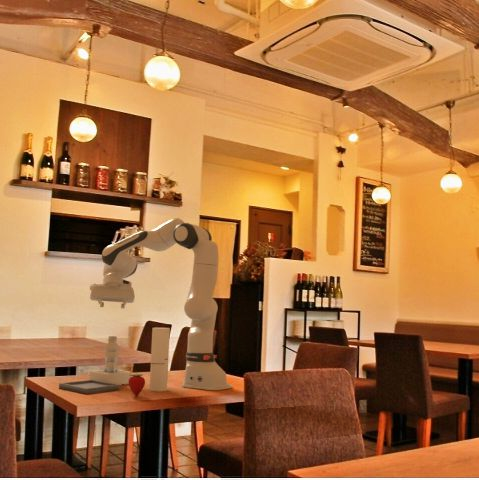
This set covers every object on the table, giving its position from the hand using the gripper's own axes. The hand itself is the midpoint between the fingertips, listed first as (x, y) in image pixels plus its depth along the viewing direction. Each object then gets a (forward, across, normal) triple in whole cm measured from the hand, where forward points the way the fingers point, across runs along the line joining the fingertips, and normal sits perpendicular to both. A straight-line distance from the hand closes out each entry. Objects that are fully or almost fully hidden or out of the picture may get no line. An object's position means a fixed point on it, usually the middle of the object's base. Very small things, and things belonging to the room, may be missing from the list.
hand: (112, 307), depth 255 cm
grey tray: (+42, -9, +3) cm, 43 cm away
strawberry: (+55, +7, -11) cm, 57 cm away
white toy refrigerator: (+45, +18, -1) cm, 49 cm away
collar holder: (+32, +1, +14) cm, 35 cm away
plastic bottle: (+32, +1, +14) cm, 35 cm away
